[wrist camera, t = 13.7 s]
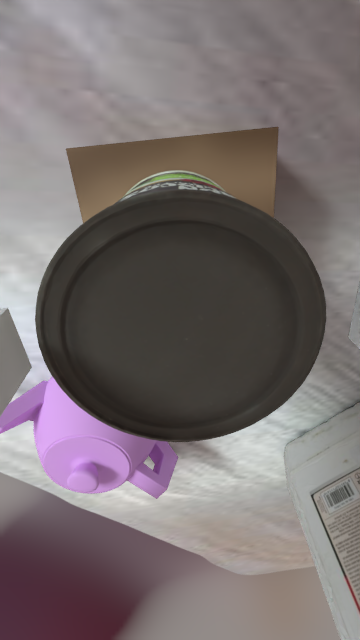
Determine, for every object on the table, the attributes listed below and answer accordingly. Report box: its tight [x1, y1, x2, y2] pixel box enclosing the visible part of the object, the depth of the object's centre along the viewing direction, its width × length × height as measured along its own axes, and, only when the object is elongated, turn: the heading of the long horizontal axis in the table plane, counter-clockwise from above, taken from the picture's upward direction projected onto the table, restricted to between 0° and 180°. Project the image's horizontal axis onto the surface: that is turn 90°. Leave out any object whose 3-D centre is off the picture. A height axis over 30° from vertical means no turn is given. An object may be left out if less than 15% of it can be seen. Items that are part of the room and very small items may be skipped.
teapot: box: [0, 377, 178, 499], centre depth 36 cm, size 22×16×12 cm
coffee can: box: [35, 170, 326, 442], centre depth 17 cm, size 10×10×14 cm
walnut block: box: [66, 127, 278, 223], centre depth 27 cm, size 14×14×8 cm
